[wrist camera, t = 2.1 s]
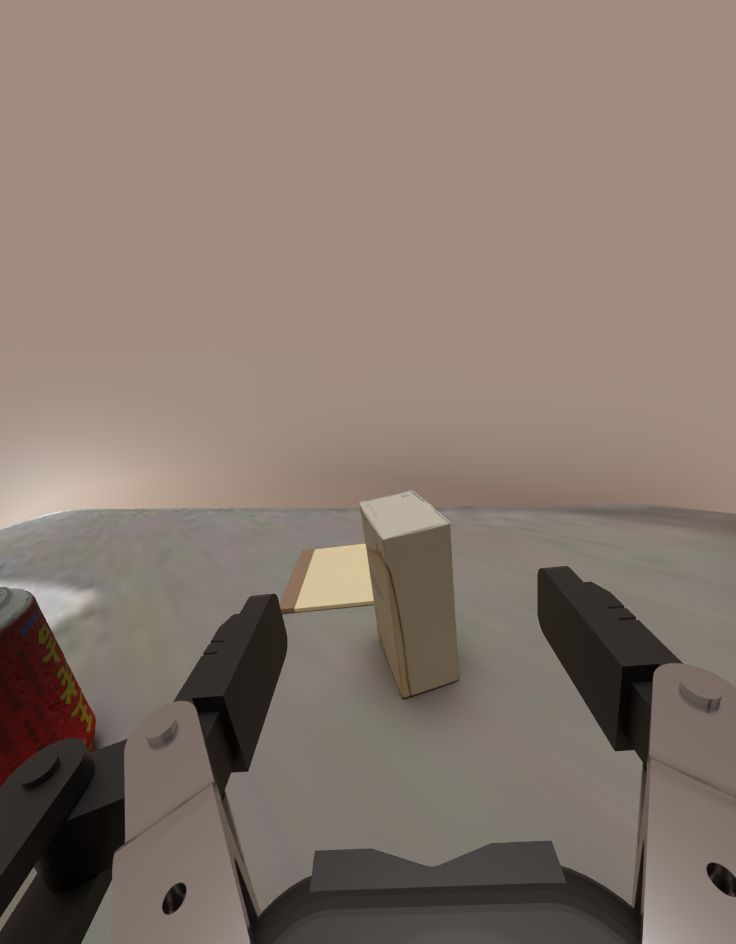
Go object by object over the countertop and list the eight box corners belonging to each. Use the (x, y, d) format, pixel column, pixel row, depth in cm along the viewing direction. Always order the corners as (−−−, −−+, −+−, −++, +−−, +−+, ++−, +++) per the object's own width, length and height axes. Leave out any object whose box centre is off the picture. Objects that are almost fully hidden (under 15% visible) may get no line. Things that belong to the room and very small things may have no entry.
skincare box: (378, 637, 29) (355, 501, 25) (427, 621, 30) (412, 488, 26) (403, 703, 23) (378, 538, 19) (465, 682, 24) (451, 520, 20)
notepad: (410, 541, 43) (410, 537, 43) (421, 599, 32) (420, 595, 32) (303, 553, 44) (302, 550, 44) (278, 614, 33) (277, 609, 33)
